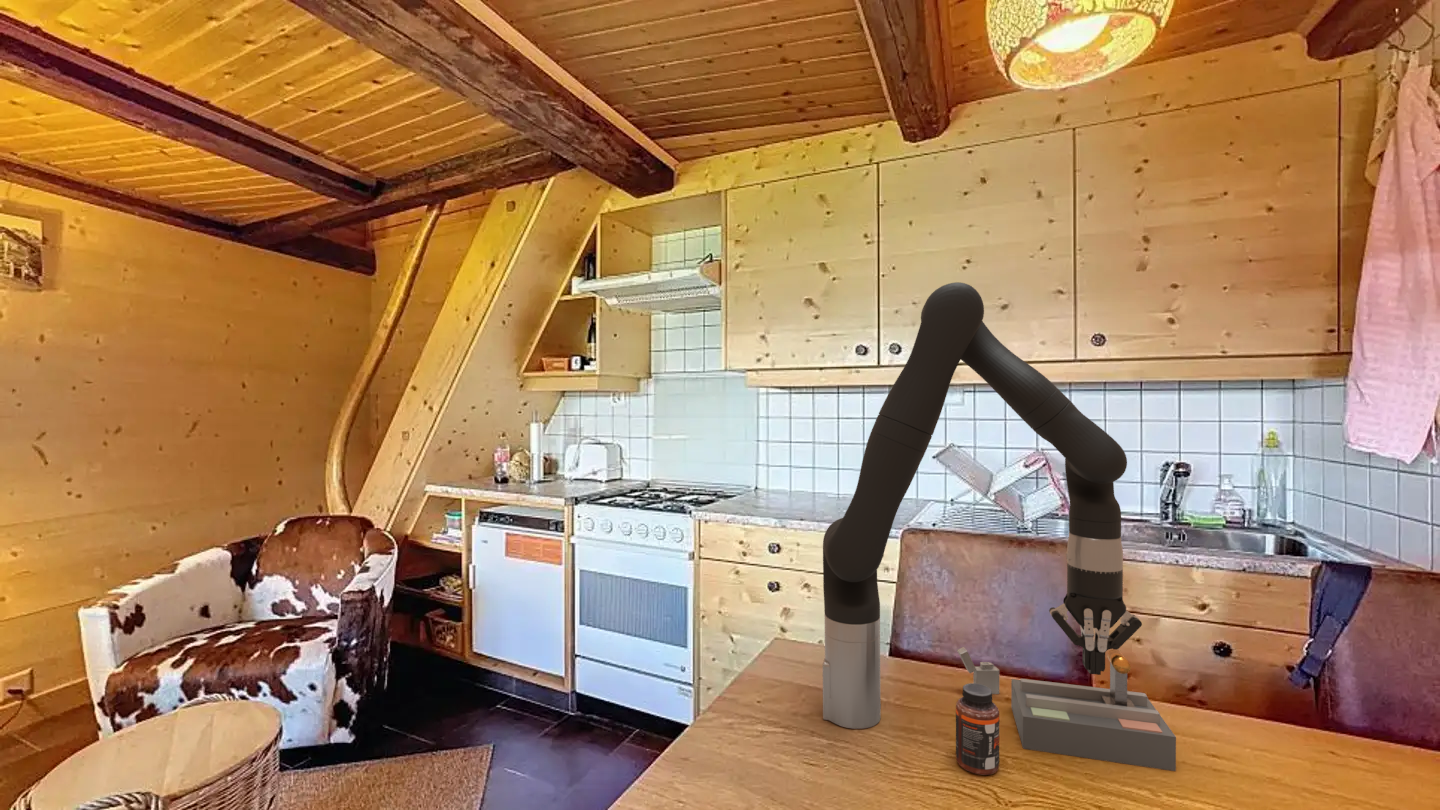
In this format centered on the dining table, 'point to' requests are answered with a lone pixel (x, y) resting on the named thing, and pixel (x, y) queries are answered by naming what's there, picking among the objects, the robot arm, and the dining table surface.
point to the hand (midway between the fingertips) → (1093, 672)
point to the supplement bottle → (977, 730)
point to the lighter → (981, 672)
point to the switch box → (1091, 724)
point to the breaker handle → (1118, 680)
